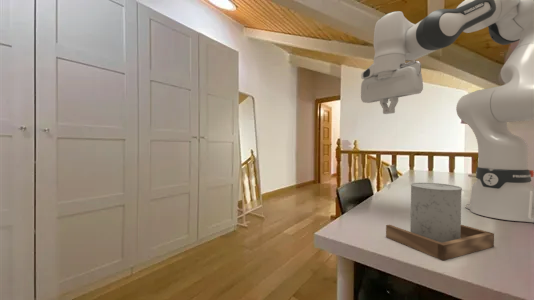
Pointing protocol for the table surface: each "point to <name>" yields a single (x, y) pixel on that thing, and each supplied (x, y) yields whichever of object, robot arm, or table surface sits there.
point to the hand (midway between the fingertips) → (388, 113)
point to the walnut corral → (466, 244)
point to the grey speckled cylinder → (436, 211)
